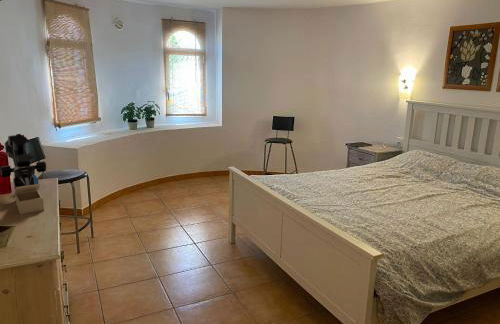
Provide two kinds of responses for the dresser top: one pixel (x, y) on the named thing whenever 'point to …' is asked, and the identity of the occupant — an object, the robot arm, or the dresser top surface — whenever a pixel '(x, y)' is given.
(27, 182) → the carton lid
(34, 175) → the perfume bottle
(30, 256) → the dresser top surface
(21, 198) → the carton
